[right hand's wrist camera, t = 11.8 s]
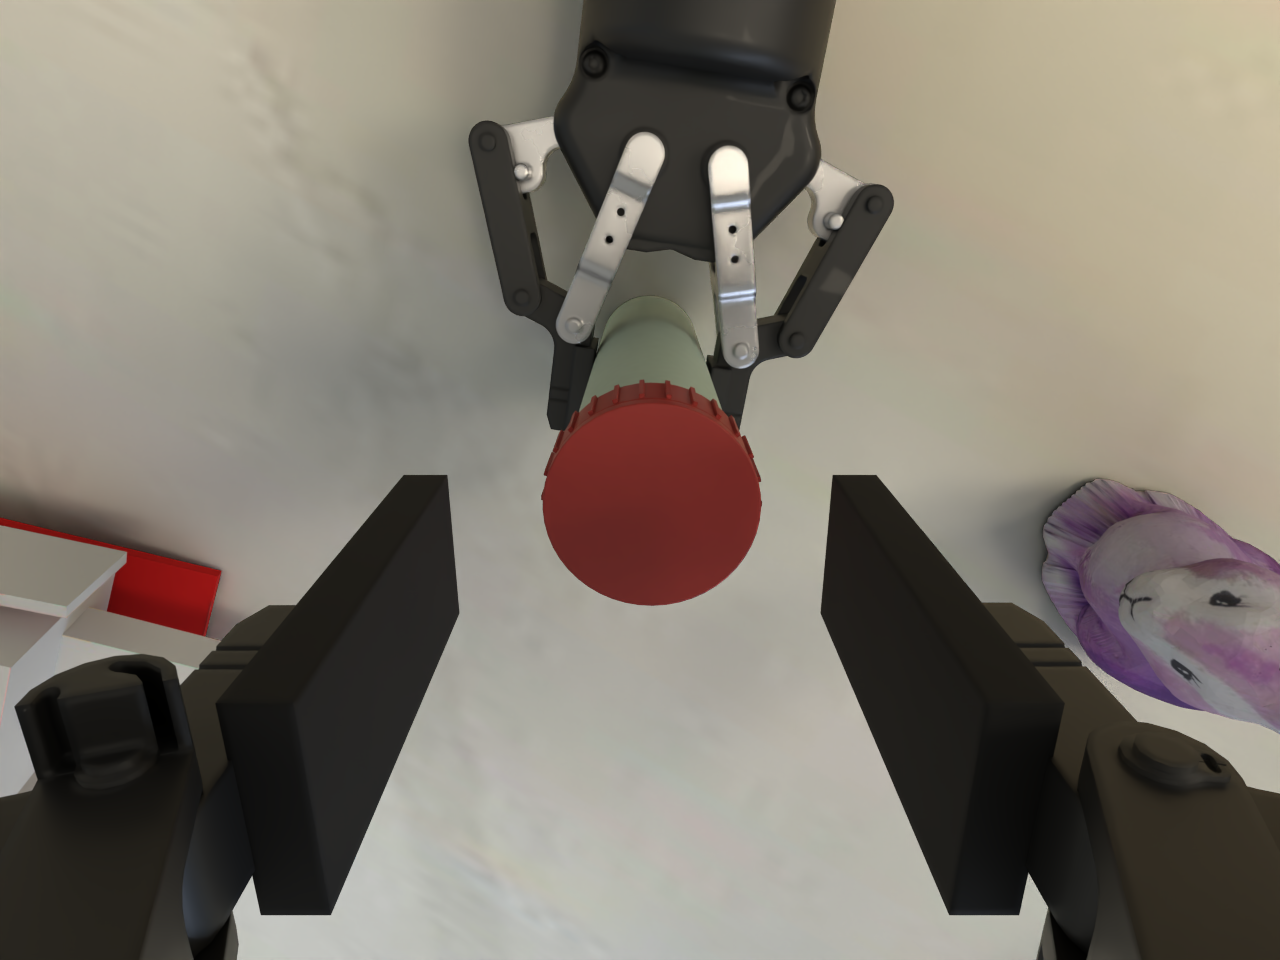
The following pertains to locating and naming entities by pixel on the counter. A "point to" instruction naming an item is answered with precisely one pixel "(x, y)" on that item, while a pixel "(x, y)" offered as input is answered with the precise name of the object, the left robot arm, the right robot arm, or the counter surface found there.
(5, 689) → the toy
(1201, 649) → the figurine
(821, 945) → the counter surface
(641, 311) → the bottle
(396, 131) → the counter surface
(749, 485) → the lid
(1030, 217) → the counter surface
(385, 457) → the counter surface
